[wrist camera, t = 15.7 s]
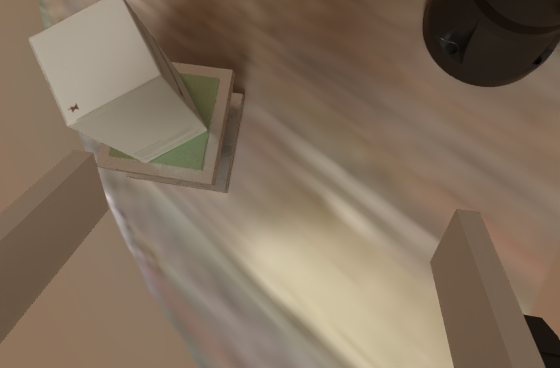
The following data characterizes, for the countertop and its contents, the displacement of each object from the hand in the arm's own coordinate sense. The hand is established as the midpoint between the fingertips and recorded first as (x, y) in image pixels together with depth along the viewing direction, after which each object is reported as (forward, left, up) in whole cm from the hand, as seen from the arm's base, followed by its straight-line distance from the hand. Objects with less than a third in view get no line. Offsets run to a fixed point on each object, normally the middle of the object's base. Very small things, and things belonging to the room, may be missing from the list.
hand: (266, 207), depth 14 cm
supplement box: (-9, -14, -22) cm, 27 cm away
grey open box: (-9, -14, -30) cm, 34 cm away
